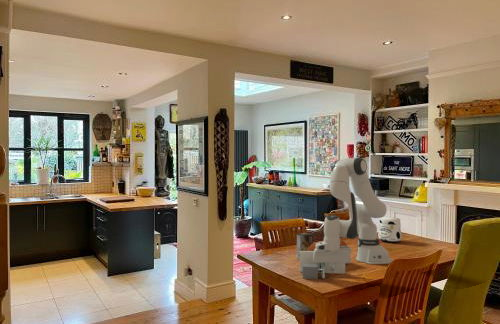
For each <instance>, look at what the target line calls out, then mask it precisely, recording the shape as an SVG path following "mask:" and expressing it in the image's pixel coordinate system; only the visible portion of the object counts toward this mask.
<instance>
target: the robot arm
mask: <svg viewBox="0 0 500 324" xmlns="http://www.w3.org/2000/svg"><path fill="white" fill-rule="evenodd" d="M367 164H368V163H367V161H366V160H365V159H364V158H362V157H350V158H343V159H337V160H334V161H333V162H332V163H331V166H330V171H331V175H330V180H329V181H330V182H329V191H330V194H331V195H332V196H333V198H336V199H338V200H340V201H341V202H344V203H345V204H346V205H347V206H348V214H349V219H348V220H346V219H340V217H339V216H338V215H335V214H330V215H327V216H325V218H324V223H323V235H324V236H323V240H321V241H322V242H321V241H318V242H319V243H316V245H315V246H316V248H315V249H314V253H313V261H314V262H317V263H327V265H328V267H329V271H335V267H336V265H337V263H346V264H350V263H351V262H352V257H351V254H352V248H351V247H350V246H349V245H347V246H340V239H341V238H346V239H350V240H355V239H356V238H357V254H356V257H355V260H356V261H358V262H360V263H365V264H367V265H368V264H369V265H382V264H383V265H384V264H386V265H387V264H390V262H391V261H393V262H394V260H393V259H392V258H391V257H390V252H389V251H388V250H387V249H386V248H385V247H384V246H383V245H381V244H383V241H382V240H380V239H379V238H378V227H377V225H376V224H375V223H374V221H373V219H380V218H382V217H386V214H387V206H386V204H385V203H384V202H382V200H381V199H380V198H379V197H378V196H377V194H375V191H374V190H373V187H372V184H371V182H370V181H371V180H370V177H369V174H368V172H367V170H368V165H367ZM350 184H351V186H352V190H353V192H352V191H351V188H350ZM355 196H356V197H357V198H356V197H355ZM330 263H334V266H333V267H330V266H329V265H330Z"/></svg>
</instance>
